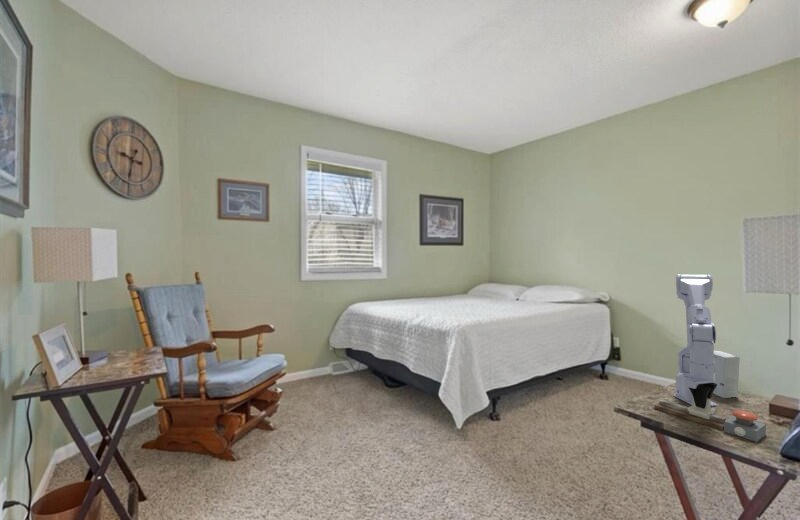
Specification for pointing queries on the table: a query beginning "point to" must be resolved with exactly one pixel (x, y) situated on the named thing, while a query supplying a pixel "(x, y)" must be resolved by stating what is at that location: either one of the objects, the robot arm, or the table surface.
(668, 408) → the rail board
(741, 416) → the button
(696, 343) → the robot arm
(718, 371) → the skincare box
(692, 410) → the carriage
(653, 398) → the table surface
